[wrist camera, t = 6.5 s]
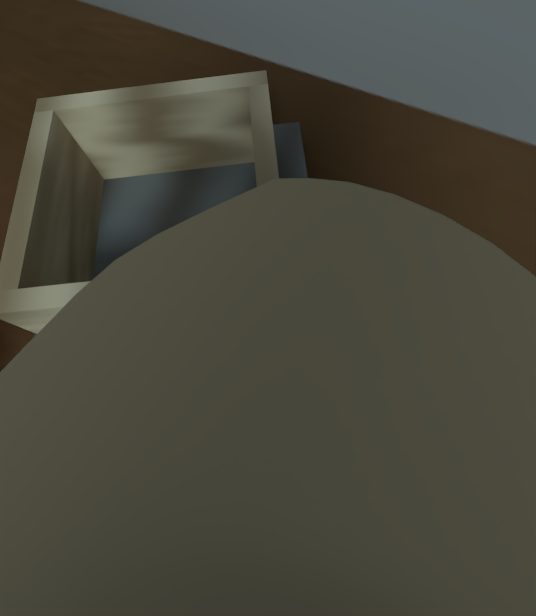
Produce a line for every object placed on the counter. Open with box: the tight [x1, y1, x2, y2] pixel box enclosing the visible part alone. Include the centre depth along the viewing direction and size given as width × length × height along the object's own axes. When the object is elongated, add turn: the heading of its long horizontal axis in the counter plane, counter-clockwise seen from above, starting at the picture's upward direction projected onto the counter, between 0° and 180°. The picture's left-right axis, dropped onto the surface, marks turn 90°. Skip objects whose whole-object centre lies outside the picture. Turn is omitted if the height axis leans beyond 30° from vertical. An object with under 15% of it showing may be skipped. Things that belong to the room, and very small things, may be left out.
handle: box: [0, 178, 536, 616], centre depth 9 cm, size 5×6×15 cm
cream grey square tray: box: [0, 70, 308, 339], centre depth 18 cm, size 16×16×6 cm
